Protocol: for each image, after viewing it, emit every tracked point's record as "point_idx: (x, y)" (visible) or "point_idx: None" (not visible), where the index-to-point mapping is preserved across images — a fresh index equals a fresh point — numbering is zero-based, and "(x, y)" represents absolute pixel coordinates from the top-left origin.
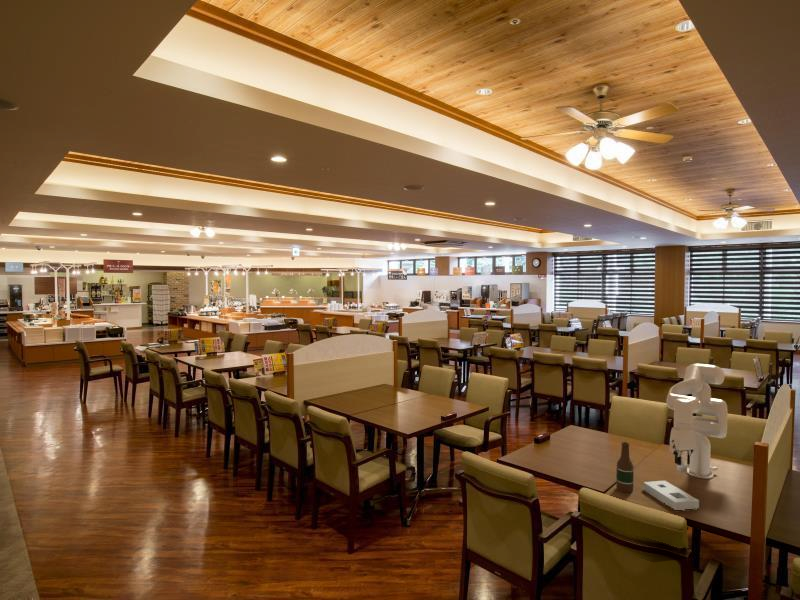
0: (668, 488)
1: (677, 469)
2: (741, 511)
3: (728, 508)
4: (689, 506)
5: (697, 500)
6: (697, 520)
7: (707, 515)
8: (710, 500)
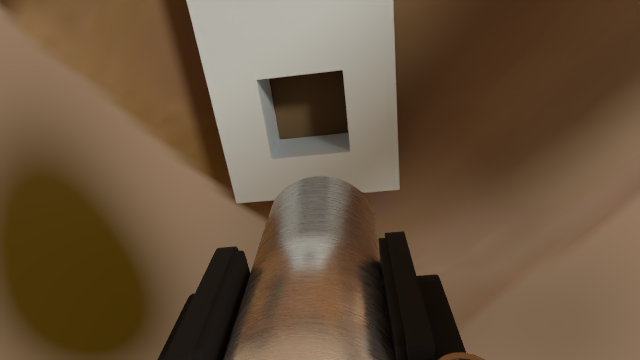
0: None
1: (269, 213)
2: (606, 206)
3: (569, 172)
4: None
5: (389, 189)
6: None
7: (384, 228)
8: (562, 68)
